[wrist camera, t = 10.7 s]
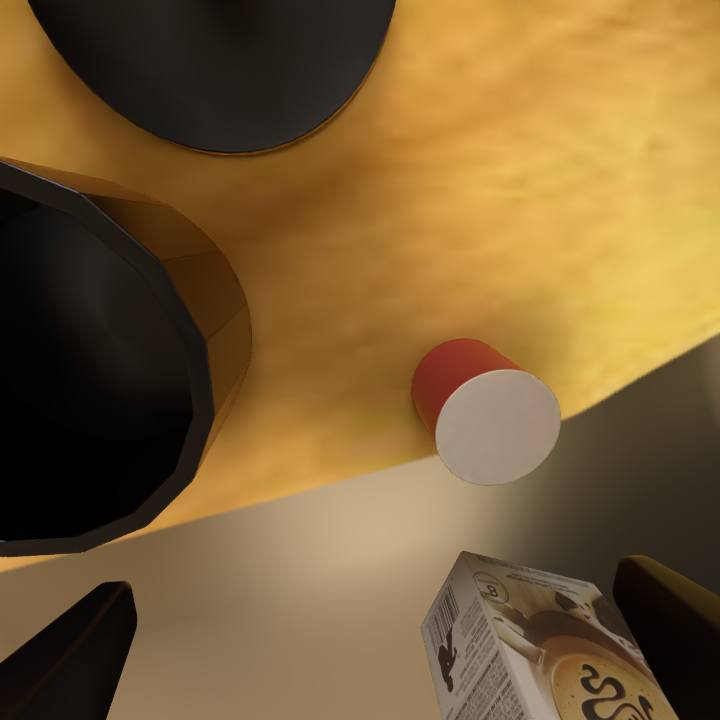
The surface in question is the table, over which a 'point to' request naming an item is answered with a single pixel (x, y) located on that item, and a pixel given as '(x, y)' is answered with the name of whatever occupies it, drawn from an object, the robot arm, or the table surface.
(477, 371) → the coffee pod
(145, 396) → the tin
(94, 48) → the tin lid
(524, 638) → the coffee box
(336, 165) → the table surface
